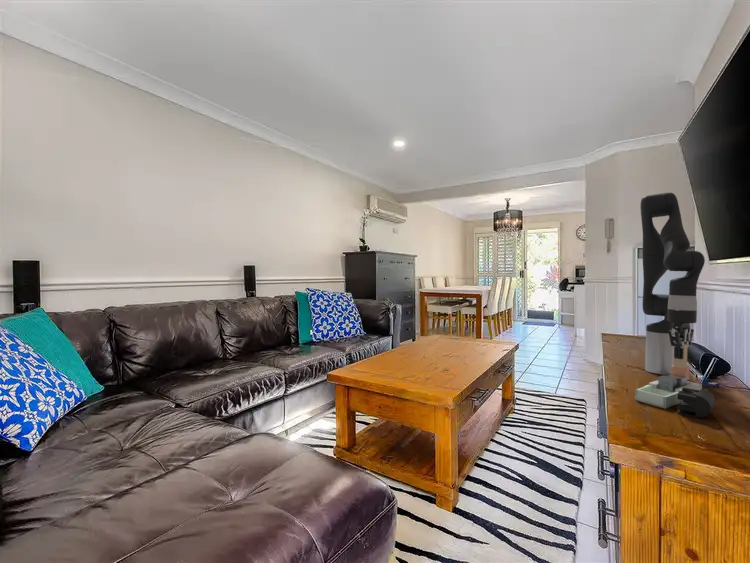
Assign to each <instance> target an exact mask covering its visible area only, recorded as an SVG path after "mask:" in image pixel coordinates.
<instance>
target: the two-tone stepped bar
mask: <svg viewBox="0 0 750 563" xmlns="http://www.w3.org/2000/svg"><path fill="white" fill-rule="evenodd" d="M688 348H689V347H688V344H684V347H683V359H676V358H674V365H673V366H671V375H672V374H673V375H678V376H683V377H687V381H689V380H690V369H691V368H690V367H688V366H687V365H688Z"/></svg>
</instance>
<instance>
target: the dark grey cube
mask: <svg viewBox="0 0 750 563" xmlns="http://www.w3.org/2000/svg"><path fill="white" fill-rule="evenodd" d="M657 378H658V379H657V380H658V389H662V390H666V391H670V392H675V389H677V388H678V378H674V377H669V376H668V375H663V374H662V375H660V376H658V377H657Z"/></svg>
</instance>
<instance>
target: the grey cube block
mask: <svg viewBox="0 0 750 563" xmlns="http://www.w3.org/2000/svg"><path fill="white" fill-rule="evenodd" d="M667 376H669V377H674V378H678V388H680V387H683V386H686V385H687V381H688V380H687V377H683V376H678V375H673V374H672V375H667Z"/></svg>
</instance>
